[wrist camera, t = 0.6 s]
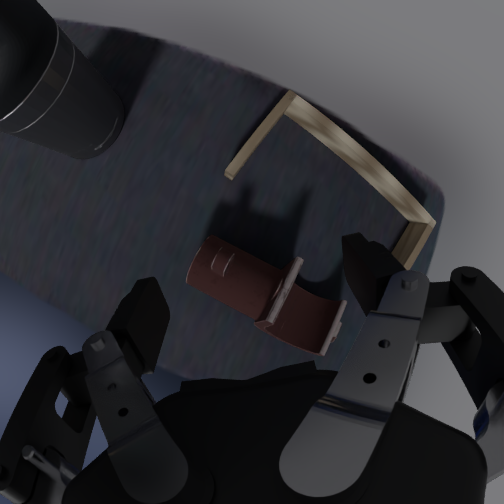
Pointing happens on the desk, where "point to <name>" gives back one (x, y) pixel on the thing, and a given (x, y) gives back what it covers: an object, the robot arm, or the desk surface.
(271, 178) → the desk surface
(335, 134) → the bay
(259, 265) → the bracket
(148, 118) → the desk surface
